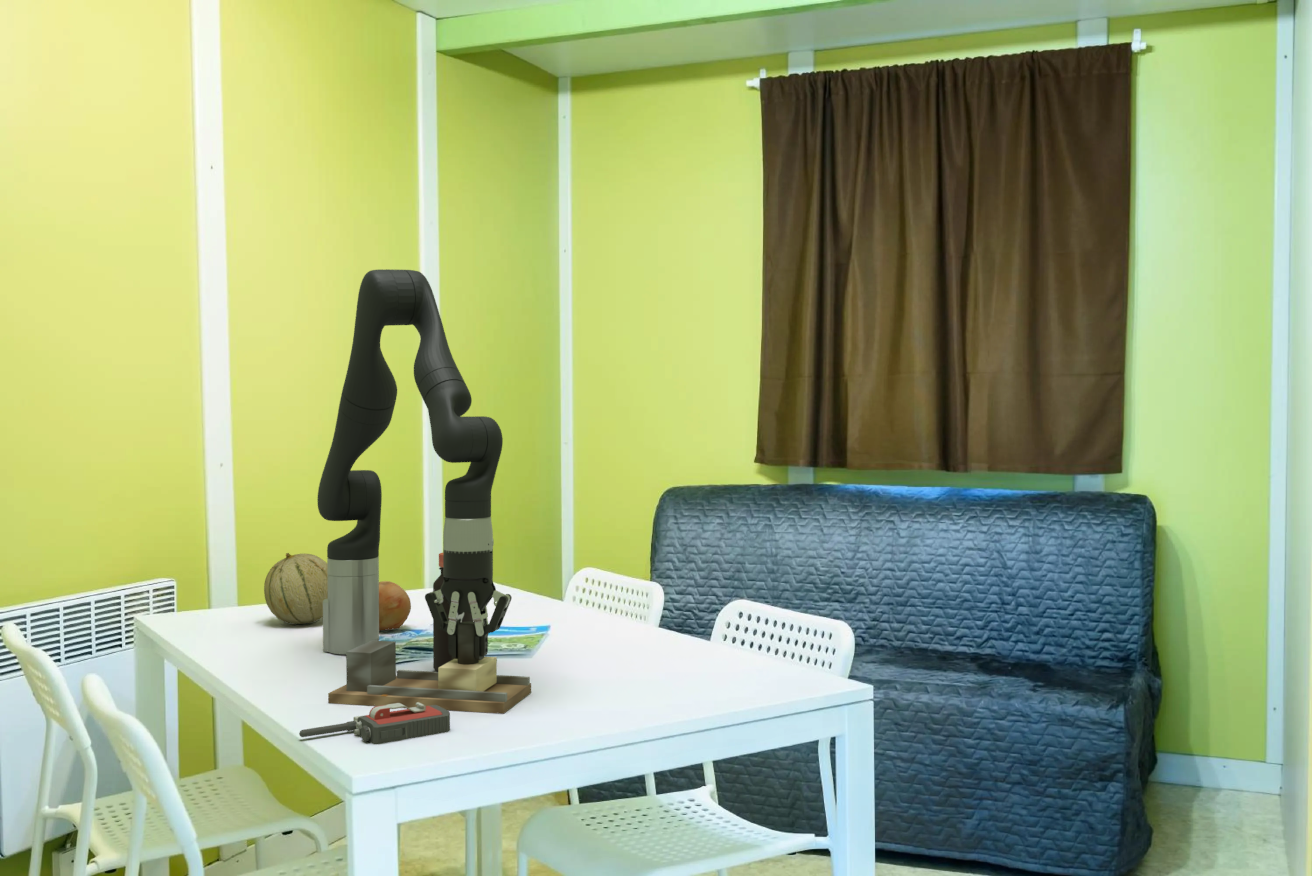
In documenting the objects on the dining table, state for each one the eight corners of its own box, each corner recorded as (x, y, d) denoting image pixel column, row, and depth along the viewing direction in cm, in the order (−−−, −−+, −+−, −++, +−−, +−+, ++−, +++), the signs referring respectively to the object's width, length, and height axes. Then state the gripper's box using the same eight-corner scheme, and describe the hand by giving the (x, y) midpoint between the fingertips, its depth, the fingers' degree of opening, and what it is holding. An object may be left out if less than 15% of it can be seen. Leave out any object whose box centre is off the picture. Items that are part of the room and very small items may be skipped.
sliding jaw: (438, 694, 177) (438, 628, 176) (460, 680, 185) (460, 617, 185) (476, 696, 175) (476, 629, 175) (496, 682, 184) (496, 619, 184)
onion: (421, 628, 238) (421, 579, 238) (388, 637, 229) (388, 586, 229) (384, 624, 243) (384, 576, 242) (350, 632, 234) (350, 582, 234)
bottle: (440, 675, 197) (439, 556, 196) (428, 667, 203) (428, 552, 202) (478, 671, 200) (478, 554, 199) (466, 664, 206) (466, 550, 205)
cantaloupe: (353, 622, 246) (352, 550, 245) (297, 633, 233) (296, 558, 233) (304, 615, 253) (304, 545, 253) (248, 625, 241) (247, 552, 241)
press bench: (328, 703, 178) (328, 654, 178) (366, 683, 191) (366, 637, 191) (503, 713, 172) (503, 662, 172) (531, 692, 185) (531, 645, 185)
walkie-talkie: (433, 720, 171) (296, 742, 159) (433, 689, 171) (296, 709, 159) (460, 733, 164) (319, 757, 152) (460, 702, 163) (319, 723, 152)
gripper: (415, 548, 178) (415, 661, 178) (503, 550, 175) (503, 666, 175) (434, 542, 185) (434, 651, 185) (519, 545, 182) (519, 655, 182)
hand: (468, 658), depth 180 cm, fingers closed on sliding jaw, 3 cm apart
